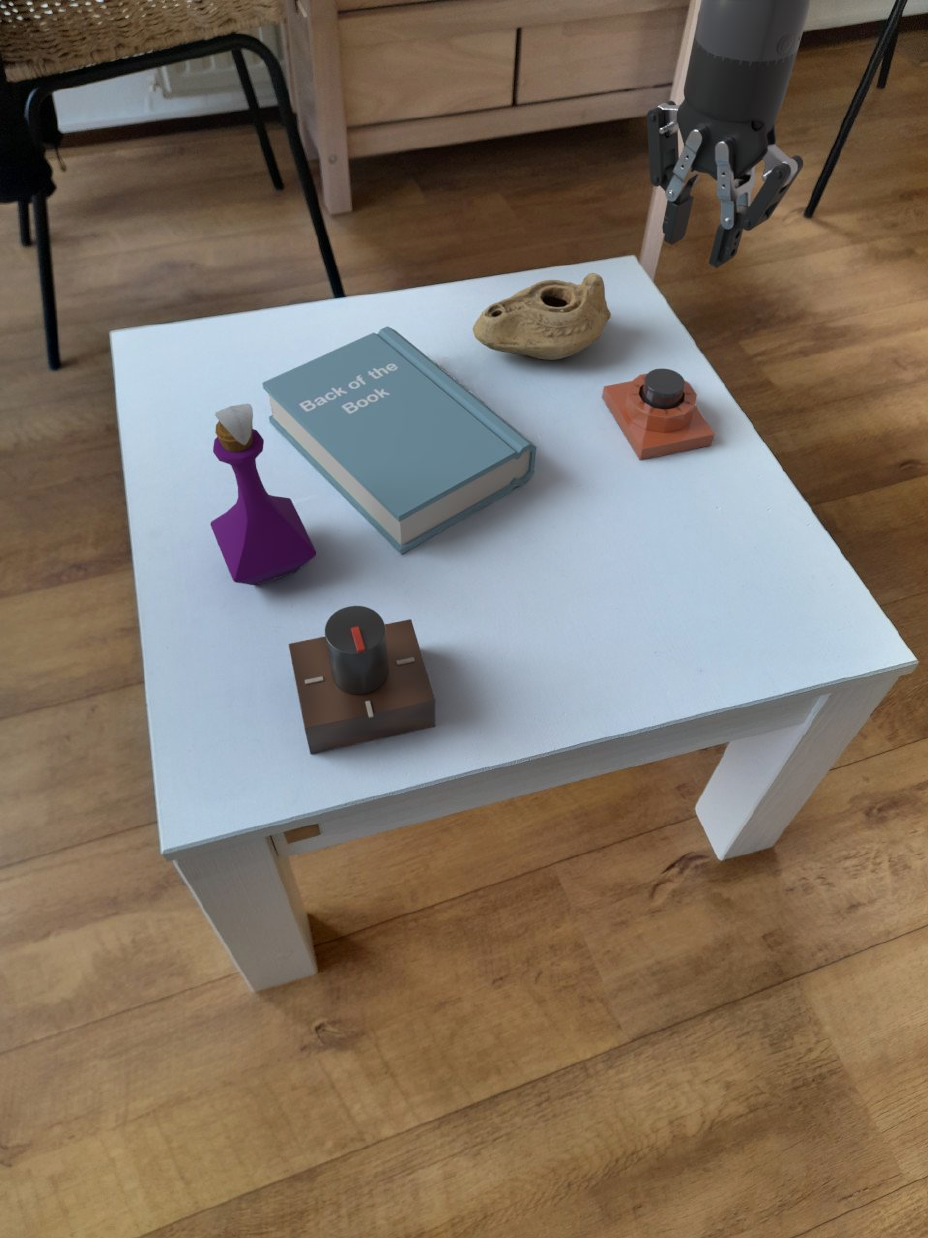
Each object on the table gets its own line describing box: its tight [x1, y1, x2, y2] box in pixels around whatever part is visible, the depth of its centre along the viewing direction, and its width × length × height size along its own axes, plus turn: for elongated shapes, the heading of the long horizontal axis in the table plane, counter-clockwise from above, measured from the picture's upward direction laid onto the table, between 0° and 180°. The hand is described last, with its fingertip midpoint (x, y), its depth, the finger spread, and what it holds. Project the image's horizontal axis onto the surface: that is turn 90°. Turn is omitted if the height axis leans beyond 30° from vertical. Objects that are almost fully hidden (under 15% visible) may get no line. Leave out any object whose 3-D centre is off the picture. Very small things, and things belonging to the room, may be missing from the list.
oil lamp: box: [472, 272, 612, 361], centre depth 100 cm, size 11×15×8 cm
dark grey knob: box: [642, 368, 686, 410], centre depth 93 cm, size 4×4×2 cm
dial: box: [324, 605, 388, 694], centre depth 70 cm, size 4×4×6 cm
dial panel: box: [288, 618, 436, 755], centre depth 73 cm, size 10×9×4 cm
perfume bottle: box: [210, 403, 318, 586], centre depth 76 cm, size 8×8×18 cm
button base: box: [601, 372, 716, 461], centre depth 95 cm, size 10×8×4 cm
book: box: [261, 325, 538, 555], centre depth 91 cm, size 23×16×5 cm
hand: (696, 250), depth 81 cm, fingers open, 4 cm apart
